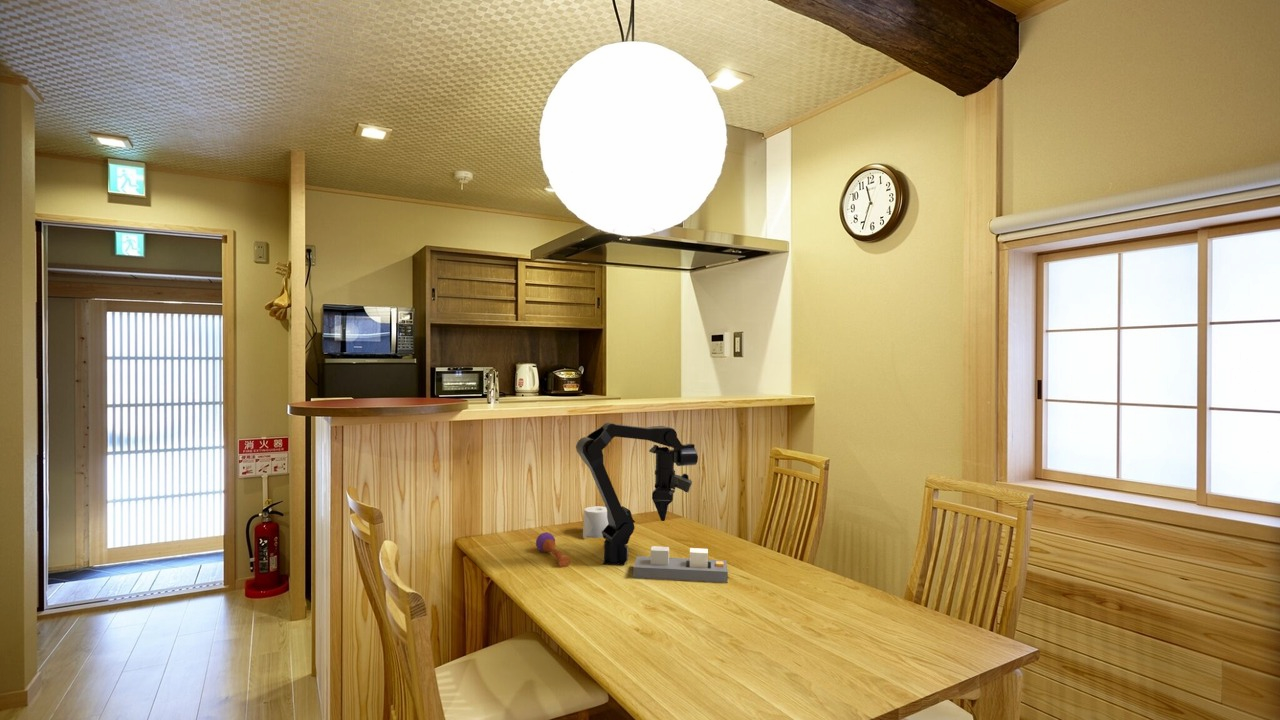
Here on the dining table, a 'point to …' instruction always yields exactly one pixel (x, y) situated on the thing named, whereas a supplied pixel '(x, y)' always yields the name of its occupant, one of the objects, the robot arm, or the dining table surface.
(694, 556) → the plug
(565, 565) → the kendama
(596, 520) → the toilet tissue
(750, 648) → the dining table surface
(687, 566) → the power strip
